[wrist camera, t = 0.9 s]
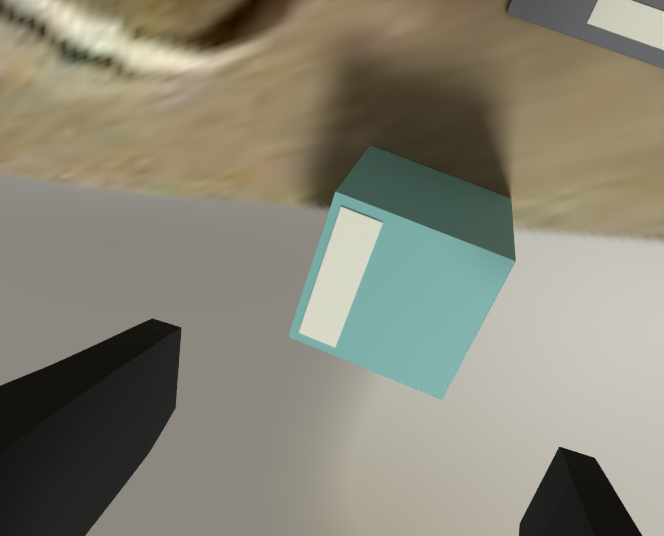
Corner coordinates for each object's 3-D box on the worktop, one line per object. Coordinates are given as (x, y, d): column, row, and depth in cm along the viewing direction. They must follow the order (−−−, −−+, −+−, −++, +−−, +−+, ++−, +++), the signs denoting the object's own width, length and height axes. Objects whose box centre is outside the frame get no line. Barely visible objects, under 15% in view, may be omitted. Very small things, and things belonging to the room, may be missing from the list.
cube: (511, 197, 18) (515, 262, 14) (452, 316, 20) (441, 401, 16) (370, 144, 18) (334, 191, 14) (328, 267, 20) (287, 338, 16)
